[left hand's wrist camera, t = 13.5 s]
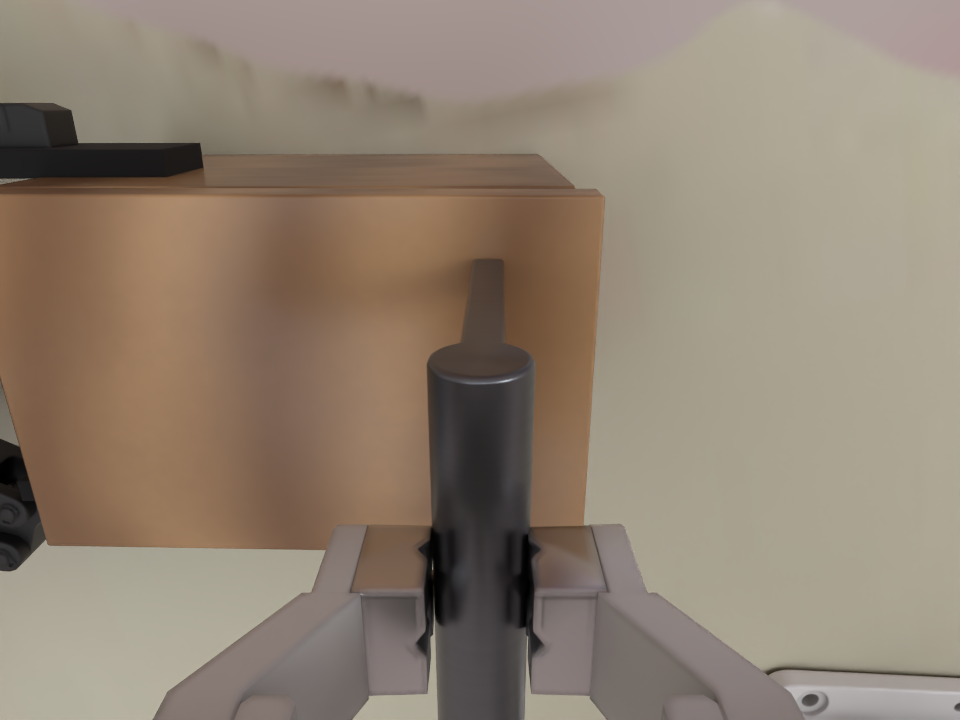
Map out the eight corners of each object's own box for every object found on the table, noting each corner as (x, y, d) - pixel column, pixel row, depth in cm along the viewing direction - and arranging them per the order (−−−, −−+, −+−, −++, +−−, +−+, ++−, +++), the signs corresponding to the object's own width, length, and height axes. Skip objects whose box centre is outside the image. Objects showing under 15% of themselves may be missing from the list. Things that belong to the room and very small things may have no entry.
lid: (597, 188, 16) (698, 281, 8) (577, 528, 19) (632, 832, 11) (-16, 187, 16) (-518, 274, 8) (73, 520, 20) (-218, 809, 12)
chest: (539, 153, 26) (576, 185, 16) (532, 384, 29) (559, 517, 20) (162, 154, 26) (-15, 186, 16) (200, 385, 29) (73, 519, 20)
